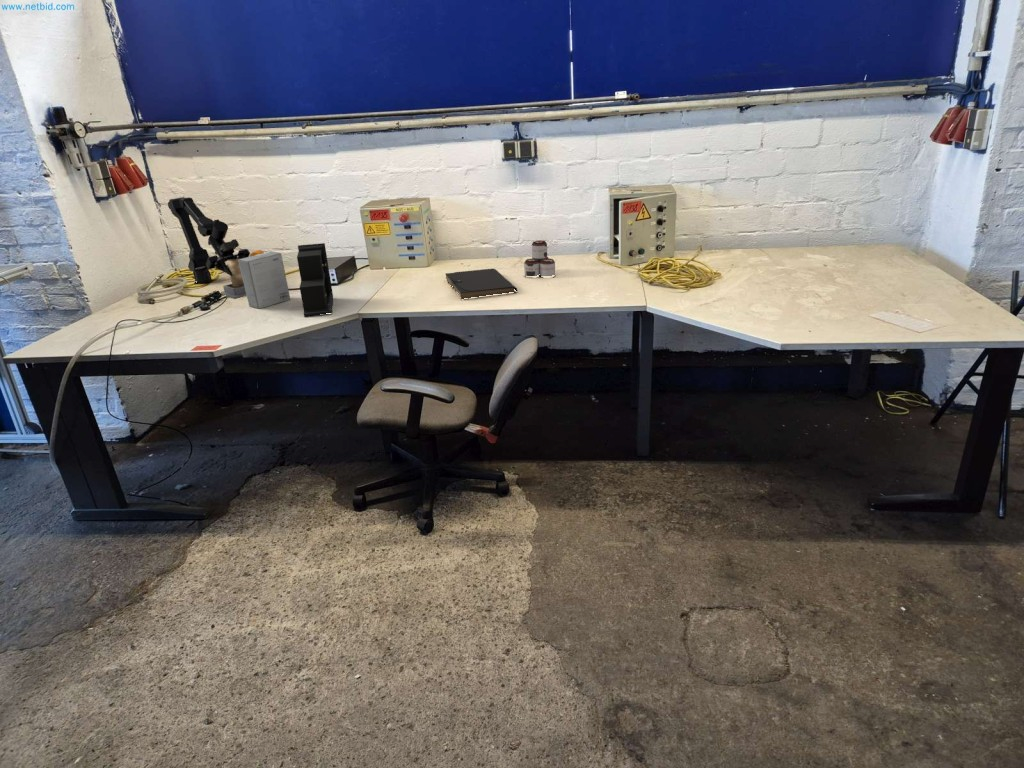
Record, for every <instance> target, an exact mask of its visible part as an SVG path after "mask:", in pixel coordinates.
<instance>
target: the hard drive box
mask: <svg viewBox="0 0 1024 768" xmlns="http://www.w3.org/2000/svg"><path fill="white" fill-rule="evenodd" d="M238 261H239V265H240V270H241V274H242V278H243V282H244V286H245V291H246V298H247V302H248V306H249V307H250V308H254V309H258V310H259V309H262V308H267V307H269V306H272V305H277V304H279V303H282V302H287V301H290V300H291V295H290V290H289V286H288V280H287V275H286V271H285V266H284V261H283V255H282V253H280V252H276V251H268V252H264V253H263V254H258V255H254V256H251V257H250V256H249V257H247V258H243V259H239V260H238Z"/></svg>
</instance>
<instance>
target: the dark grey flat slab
mask: <svg viewBox="0 0 1024 768" xmlns="http://www.w3.org/2000/svg"><path fill="white" fill-rule="evenodd" d="M444 274H445V280H446V279H447V281H448V282H449V283H448V282H447V281H446V282H447V283H448V285H449V286H450V285H451V286H450V287H452V286H453V287H454V289H455V290H456V291H457V292H458V293H459V294H460V296H459V298H460V297H461V298H460V300H461V299H464V298H471V297H479V296H486V295H493V294H502V293H509V292H514V289H515V290H516V291H517V292H518V288H517V287H516V286H515V285H514V284H512V283H511V282H510V280H508V279H507V278H506V277H505V276H504V275H503V274H501V272H499V271H498V270H497V269H496V268H483V269H476V270H475V269H474V270H465V271H454V272H447V273H444ZM454 289H453V290H454ZM455 290H454V291H455ZM458 293H457V294H458ZM514 293H515V292H514ZM459 294H458V295H459Z"/></svg>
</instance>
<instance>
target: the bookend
mask: <svg viewBox="0 0 1024 768" xmlns="http://www.w3.org/2000/svg"><path fill="white" fill-rule="evenodd" d="M297 250H298V252H297V255H296V259H297V265H298V272H299V276H300V283H299V292H300V298H301V304H302V308H303V317H304V318H309V317H308V316H310V317H315V316H314V315H320V314H326V313H331V312H332V313H333V309H332V308H333V307H332V306H333V305H334V294H333V293H334V292H333V287H332V281H331V274H330V269H329V263H328V255H327V251H326V250H327V249H326V243H324V242H323V243H322V242H321V243H310V244H298V245H297ZM320 316H321V315H320Z"/></svg>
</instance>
